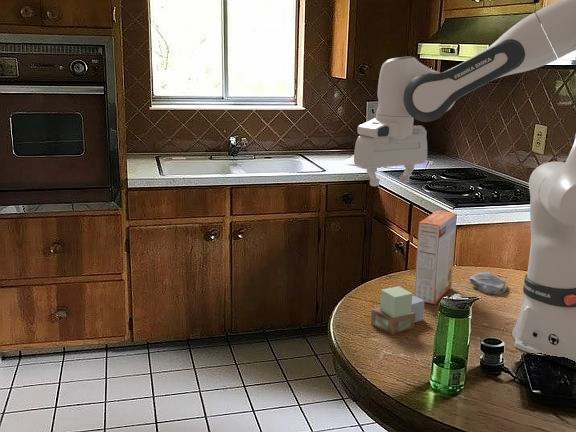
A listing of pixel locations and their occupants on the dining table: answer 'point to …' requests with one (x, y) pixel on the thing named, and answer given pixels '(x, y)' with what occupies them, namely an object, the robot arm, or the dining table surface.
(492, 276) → the fossil
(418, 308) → the slate blue block
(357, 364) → the dining table surface
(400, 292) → the sage green block
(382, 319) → the walnut slab
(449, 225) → the cracker box
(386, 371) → the dining table surface
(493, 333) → the dining table surface
